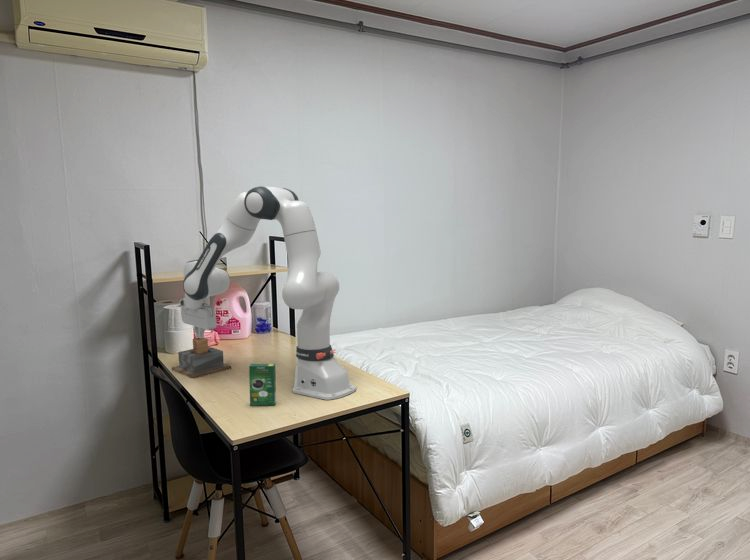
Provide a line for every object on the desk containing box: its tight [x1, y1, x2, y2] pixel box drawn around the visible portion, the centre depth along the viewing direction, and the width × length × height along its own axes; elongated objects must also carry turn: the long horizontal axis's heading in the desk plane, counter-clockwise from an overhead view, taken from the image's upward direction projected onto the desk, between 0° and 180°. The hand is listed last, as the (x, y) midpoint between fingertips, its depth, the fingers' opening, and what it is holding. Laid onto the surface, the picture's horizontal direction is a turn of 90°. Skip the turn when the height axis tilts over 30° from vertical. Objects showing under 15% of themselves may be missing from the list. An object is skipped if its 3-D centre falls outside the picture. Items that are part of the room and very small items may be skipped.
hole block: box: [171, 345, 232, 379], centre depth 200 cm, size 16×16×7 cm
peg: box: [192, 337, 209, 355], centre depth 200 cm, size 4×4×10 cm
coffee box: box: [248, 363, 277, 407], centre depth 162 cm, size 8×3×13 cm, turn 91°
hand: (199, 337), depth 199 cm, fingers closed
